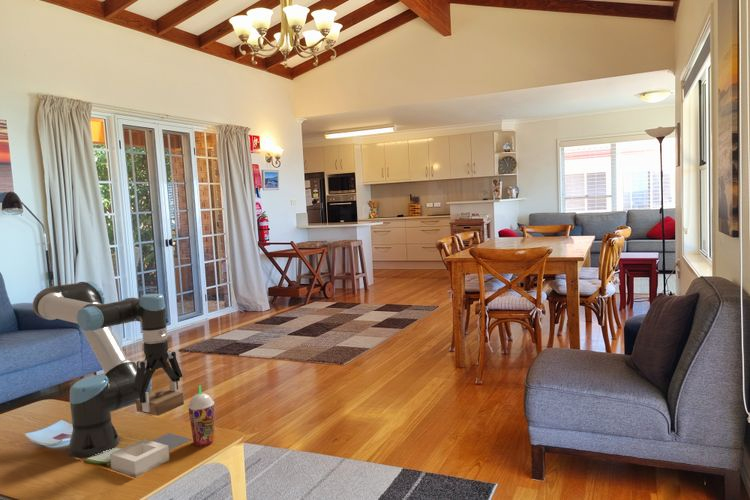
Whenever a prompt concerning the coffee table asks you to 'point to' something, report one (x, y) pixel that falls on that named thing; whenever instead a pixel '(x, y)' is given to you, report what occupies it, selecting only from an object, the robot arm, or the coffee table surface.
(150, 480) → the coffee table surface
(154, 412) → the lid
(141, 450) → the dish
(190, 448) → the coffee table surface
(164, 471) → the coffee table surface
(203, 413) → the smoothie
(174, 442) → the mat
